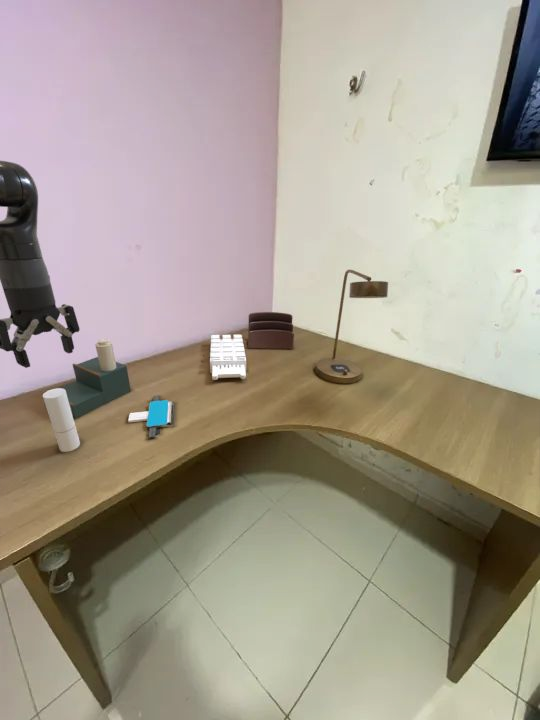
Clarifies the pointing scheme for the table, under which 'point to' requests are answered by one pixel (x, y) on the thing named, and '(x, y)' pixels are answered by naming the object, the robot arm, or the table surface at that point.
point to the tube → (61, 419)
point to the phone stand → (156, 416)
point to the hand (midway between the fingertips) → (48, 359)
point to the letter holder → (270, 330)
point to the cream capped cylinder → (105, 355)
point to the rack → (95, 386)
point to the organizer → (227, 357)
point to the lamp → (334, 366)
